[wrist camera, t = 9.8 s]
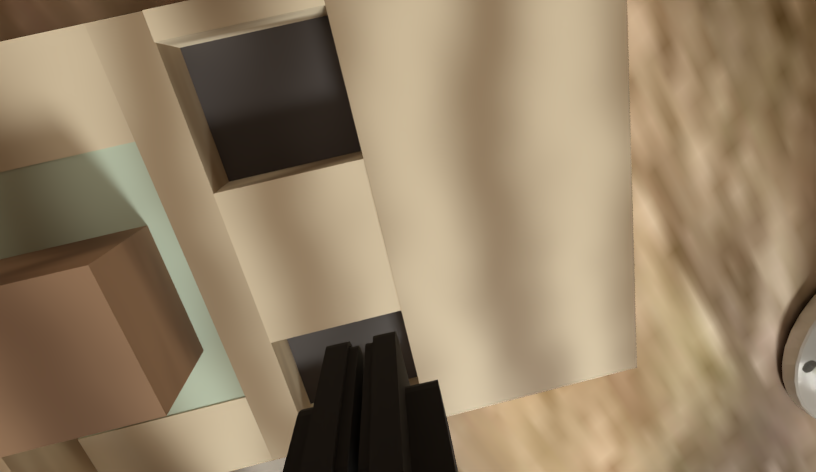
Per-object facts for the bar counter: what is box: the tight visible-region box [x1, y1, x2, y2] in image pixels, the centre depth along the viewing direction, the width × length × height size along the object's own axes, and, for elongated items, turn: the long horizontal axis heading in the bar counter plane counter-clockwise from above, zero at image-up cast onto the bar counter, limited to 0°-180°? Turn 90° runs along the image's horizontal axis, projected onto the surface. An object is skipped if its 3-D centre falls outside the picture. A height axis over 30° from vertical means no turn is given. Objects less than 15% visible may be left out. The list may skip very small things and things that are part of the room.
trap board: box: [0, 0, 637, 472], centre depth 18 cm, size 28×20×6 cm
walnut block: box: [0, 225, 204, 458], centre depth 16 cm, size 6×6×4 cm
